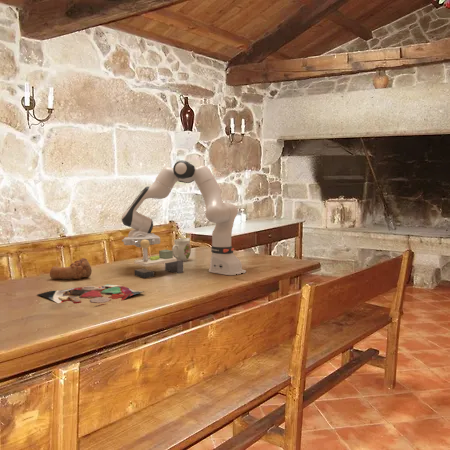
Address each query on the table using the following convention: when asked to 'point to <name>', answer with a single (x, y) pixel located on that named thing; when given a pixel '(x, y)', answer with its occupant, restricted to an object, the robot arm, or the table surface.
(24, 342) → the table surface
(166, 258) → the plate
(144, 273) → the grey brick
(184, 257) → the pitcher
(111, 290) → the colourful flat sheet
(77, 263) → the clay pipe
